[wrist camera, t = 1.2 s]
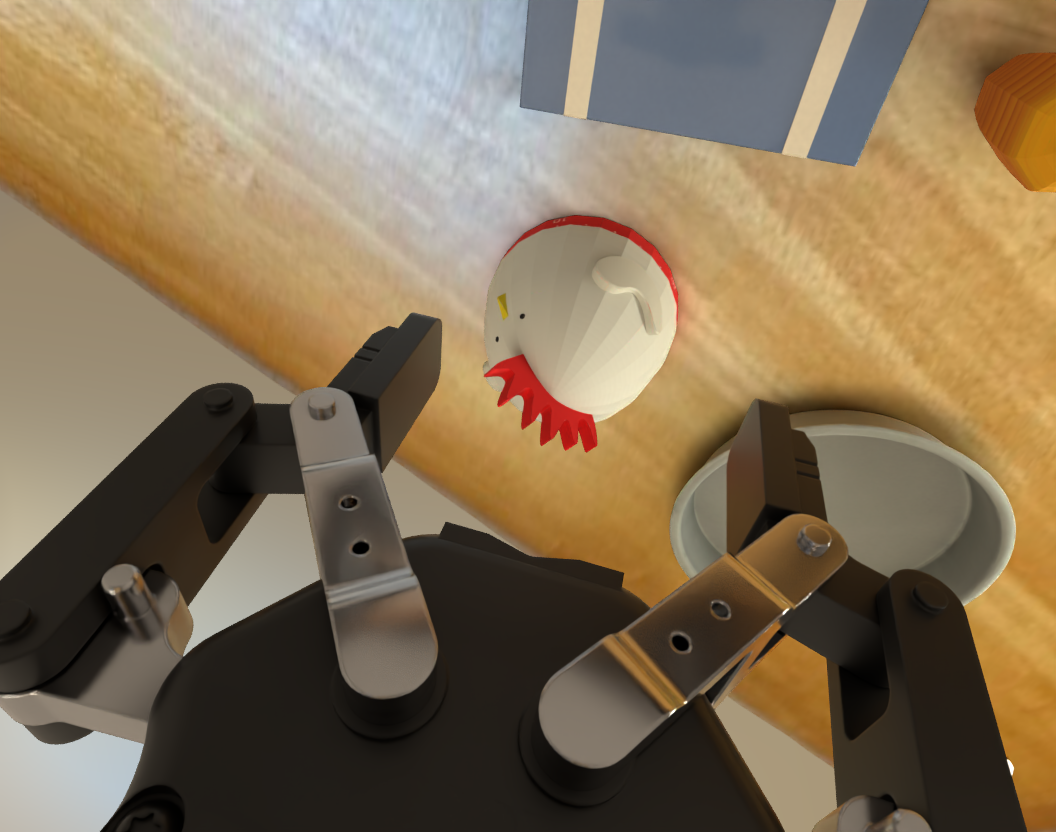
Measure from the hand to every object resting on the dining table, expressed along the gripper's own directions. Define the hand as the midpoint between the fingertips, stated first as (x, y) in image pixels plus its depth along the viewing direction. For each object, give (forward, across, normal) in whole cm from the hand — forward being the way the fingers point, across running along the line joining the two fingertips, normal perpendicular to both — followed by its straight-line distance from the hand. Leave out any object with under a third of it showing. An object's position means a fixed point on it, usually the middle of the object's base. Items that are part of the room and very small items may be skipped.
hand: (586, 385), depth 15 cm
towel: (+28, -1, -4) cm, 28 cm away
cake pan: (+28, -21, +27) cm, 44 cm away
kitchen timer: (+28, +3, +14) cm, 31 cm away
